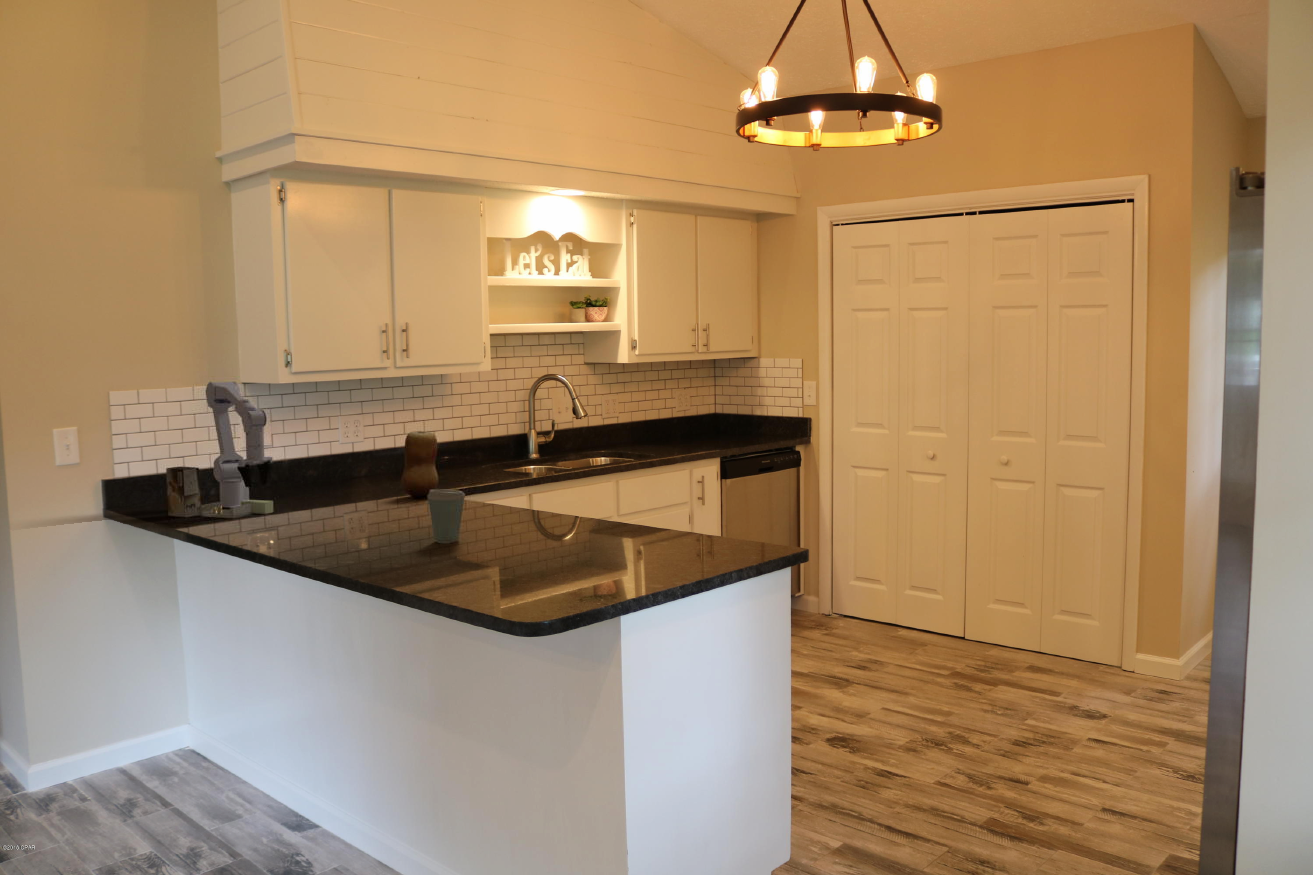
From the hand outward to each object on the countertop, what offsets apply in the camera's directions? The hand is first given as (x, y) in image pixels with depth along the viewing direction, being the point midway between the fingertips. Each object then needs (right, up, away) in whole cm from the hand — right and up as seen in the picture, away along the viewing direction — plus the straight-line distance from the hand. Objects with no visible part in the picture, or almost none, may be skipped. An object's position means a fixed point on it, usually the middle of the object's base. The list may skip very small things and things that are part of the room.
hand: (256, 485), depth 342 cm
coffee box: (-22, -10, -6) cm, 24 cm away
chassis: (-8, -10, -6) cm, 14 cm away
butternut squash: (+47, -6, +36) cm, 60 cm away
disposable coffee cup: (+76, -14, -54) cm, 94 cm away
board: (0, -9, +1) cm, 9 cm away
